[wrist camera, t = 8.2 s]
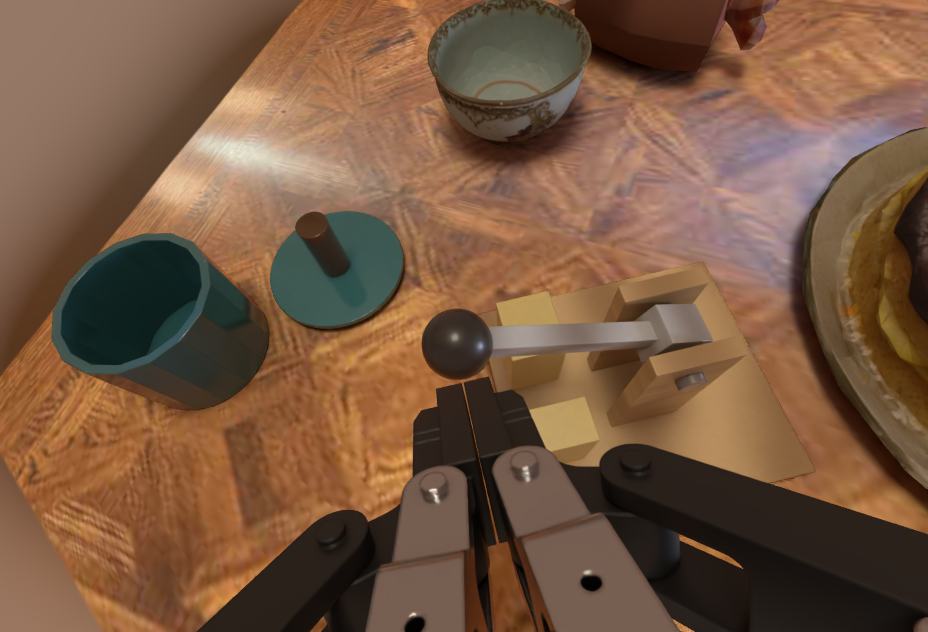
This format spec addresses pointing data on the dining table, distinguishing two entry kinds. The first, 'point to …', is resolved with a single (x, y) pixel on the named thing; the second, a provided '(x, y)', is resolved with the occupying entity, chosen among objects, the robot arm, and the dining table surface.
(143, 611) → the dining table surface
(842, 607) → the robot arm
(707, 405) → the wooden lever switch base
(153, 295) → the crock
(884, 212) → the cake
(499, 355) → the ball tipped lever
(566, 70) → the bowl
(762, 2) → the meat
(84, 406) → the dining table surface
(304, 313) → the crock lid
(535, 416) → the yellow rectangular block
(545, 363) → the pale yellow oblong block
